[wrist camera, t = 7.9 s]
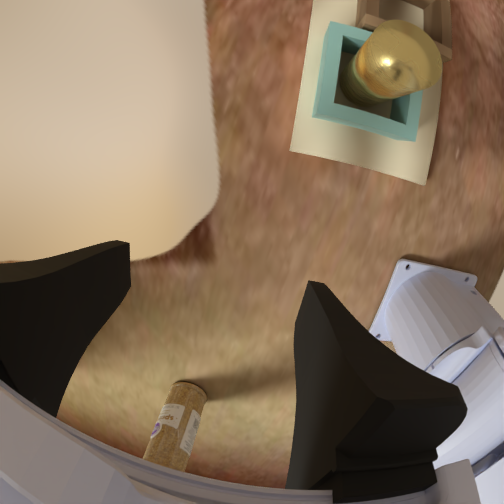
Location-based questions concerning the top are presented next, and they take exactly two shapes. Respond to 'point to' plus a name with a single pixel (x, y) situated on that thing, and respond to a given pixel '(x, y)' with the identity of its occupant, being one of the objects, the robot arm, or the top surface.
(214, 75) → the top surface
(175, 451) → the spice jar
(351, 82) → the pin
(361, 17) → the mount
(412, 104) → the socket
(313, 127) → the board
